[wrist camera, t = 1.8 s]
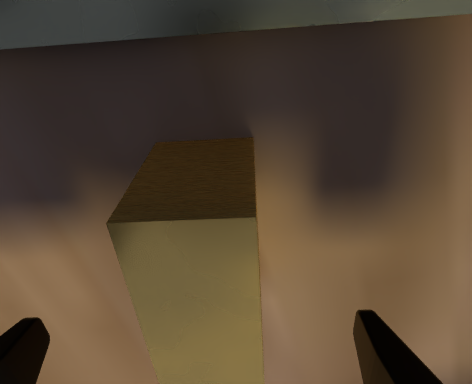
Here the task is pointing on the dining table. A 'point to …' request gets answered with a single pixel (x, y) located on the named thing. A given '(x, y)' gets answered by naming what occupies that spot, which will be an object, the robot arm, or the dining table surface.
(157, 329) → the block
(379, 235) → the dining table surface
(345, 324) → the dining table surface
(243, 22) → the vise
